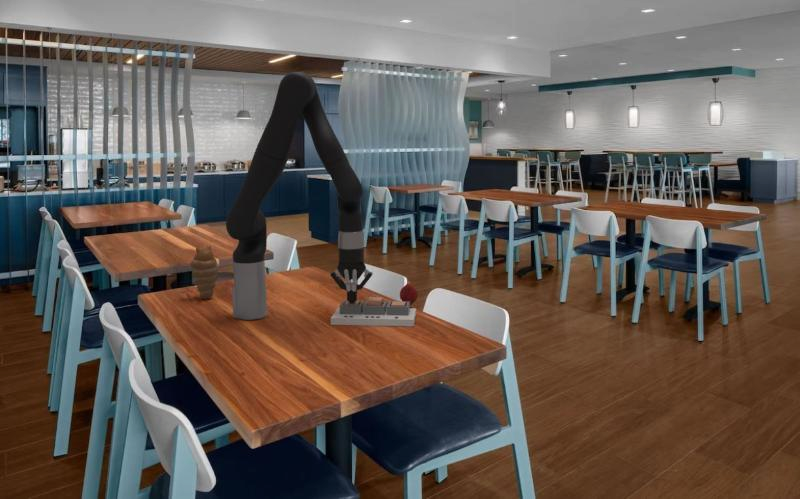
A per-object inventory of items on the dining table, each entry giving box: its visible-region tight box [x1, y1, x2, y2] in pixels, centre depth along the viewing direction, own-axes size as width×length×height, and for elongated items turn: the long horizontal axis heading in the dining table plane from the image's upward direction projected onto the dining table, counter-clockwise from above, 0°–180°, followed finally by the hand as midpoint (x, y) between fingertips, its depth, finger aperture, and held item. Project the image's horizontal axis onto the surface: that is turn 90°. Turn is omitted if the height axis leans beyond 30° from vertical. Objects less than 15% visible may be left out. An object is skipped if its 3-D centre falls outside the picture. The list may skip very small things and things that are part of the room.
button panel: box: [330, 299, 417, 327], centre depth 179 cm, size 24×12×4 cm, turn 85°
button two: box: [344, 300, 361, 306], centre depth 181 cm, size 4×4×2 cm
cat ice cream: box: [190, 245, 219, 300], centre depth 203 cm, size 9×8×18 cm
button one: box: [391, 302, 406, 306], centre depth 180 cm, size 4×4×2 cm
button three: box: [366, 296, 384, 306], centre depth 180 cm, size 4×4×2 cm
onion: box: [399, 281, 419, 306], centre depth 194 cm, size 6×6×8 cm
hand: (352, 302), depth 181 cm, fingers closed
